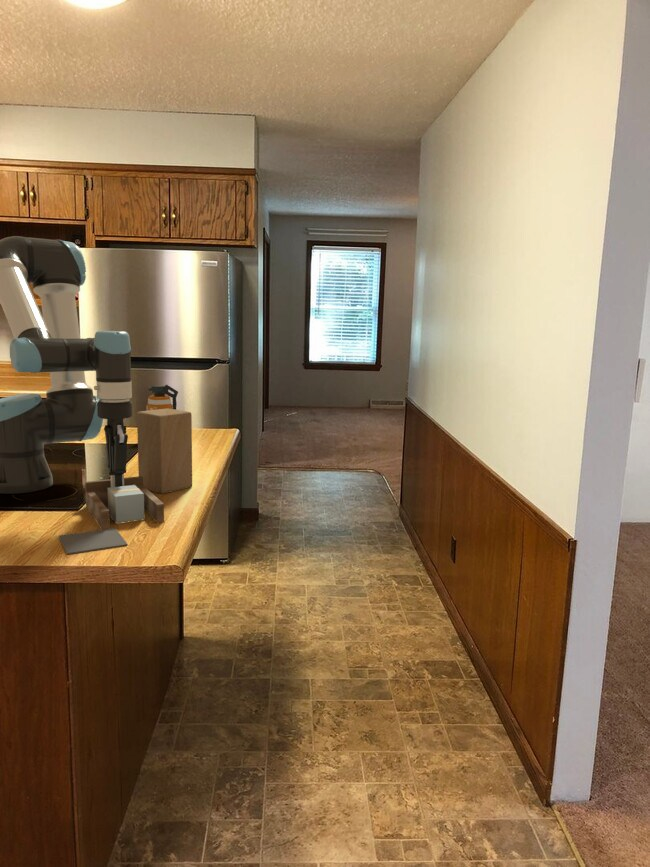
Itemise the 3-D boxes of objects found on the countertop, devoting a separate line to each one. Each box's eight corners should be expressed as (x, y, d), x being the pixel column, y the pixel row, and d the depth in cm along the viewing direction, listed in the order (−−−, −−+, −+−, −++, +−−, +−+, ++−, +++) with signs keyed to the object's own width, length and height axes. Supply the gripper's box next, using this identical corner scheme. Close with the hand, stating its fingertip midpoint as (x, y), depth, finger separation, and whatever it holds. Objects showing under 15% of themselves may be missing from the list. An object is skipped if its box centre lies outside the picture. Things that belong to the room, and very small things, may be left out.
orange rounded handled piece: (146, 438, 233) (145, 383, 230) (177, 437, 236) (176, 383, 233) (147, 442, 225) (146, 386, 221) (179, 441, 228) (178, 386, 225)
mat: (58, 536, 127) (58, 535, 127) (115, 529, 133) (115, 527, 133) (67, 554, 118) (67, 553, 118) (127, 545, 123) (127, 544, 123)
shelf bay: (86, 506, 148) (84, 481, 147) (142, 500, 154) (141, 476, 153) (102, 530, 132) (101, 502, 131) (164, 521, 138) (163, 494, 137)
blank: (108, 513, 143) (107, 487, 142) (135, 510, 146) (134, 484, 145) (116, 524, 136) (115, 496, 135) (144, 520, 139) (144, 493, 138)
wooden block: (169, 480, 173) (168, 407, 170) (193, 487, 167) (192, 412, 164) (138, 487, 166) (136, 411, 162) (161, 494, 159) (159, 415, 156)
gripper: (91, 397, 147) (95, 496, 151) (103, 404, 136) (107, 510, 140) (124, 396, 151) (127, 492, 155) (138, 402, 140) (141, 506, 144)
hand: (118, 500), depth 148 cm, fingers closed
